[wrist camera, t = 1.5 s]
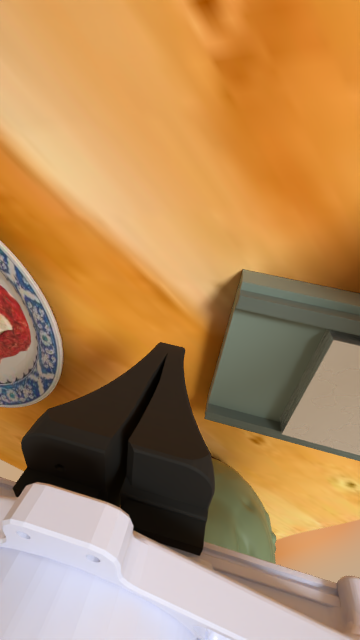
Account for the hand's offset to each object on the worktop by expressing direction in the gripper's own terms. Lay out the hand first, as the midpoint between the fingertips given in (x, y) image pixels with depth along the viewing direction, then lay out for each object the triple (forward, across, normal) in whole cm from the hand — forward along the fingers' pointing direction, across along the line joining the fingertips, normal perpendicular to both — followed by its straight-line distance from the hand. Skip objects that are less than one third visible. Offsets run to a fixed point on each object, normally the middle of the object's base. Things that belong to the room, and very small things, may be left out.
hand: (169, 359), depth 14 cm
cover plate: (+7, -13, +5) cm, 16 cm away
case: (+10, -10, +5) cm, 15 cm away
